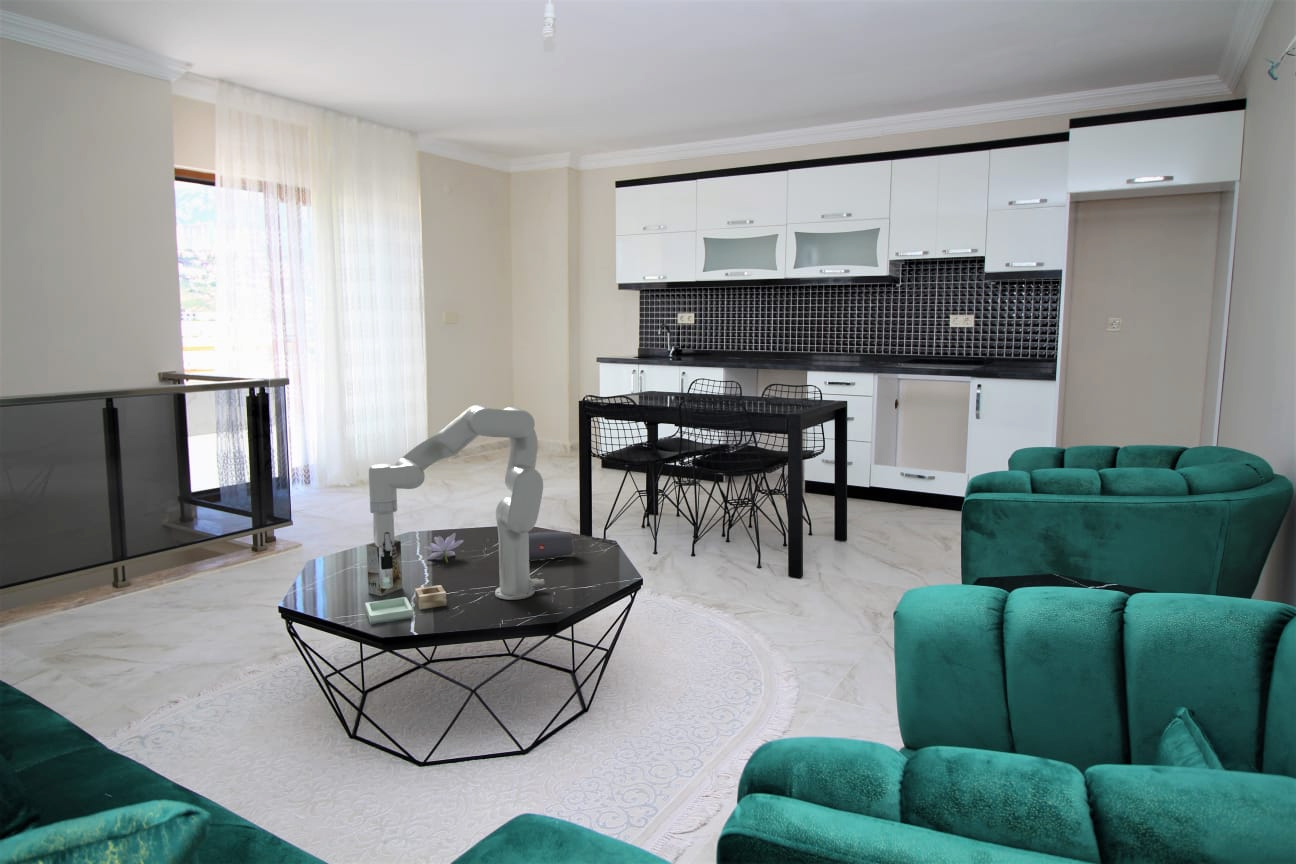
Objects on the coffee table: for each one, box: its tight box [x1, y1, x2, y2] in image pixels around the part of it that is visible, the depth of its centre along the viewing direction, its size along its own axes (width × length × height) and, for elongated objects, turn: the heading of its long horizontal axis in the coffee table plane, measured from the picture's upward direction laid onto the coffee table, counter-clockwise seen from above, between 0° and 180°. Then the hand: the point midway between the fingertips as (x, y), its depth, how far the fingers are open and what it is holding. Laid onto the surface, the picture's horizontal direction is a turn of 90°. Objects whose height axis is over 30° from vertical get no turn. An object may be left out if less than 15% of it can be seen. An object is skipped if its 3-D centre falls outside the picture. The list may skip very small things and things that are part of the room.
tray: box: [364, 596, 414, 625], centre depth 236 cm, size 12×12×2 cm
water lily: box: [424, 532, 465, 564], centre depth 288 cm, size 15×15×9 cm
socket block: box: [414, 584, 447, 610], centre depth 245 cm, size 8×8×4 cm
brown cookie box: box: [366, 539, 403, 597], centre depth 255 cm, size 9×6×16 cm
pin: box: [379, 546, 393, 589], centre depth 234 cm, size 4×4×12 cm
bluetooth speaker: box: [528, 531, 574, 561], centre depth 290 cm, size 23×9×10 cm, turn 104°
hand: (386, 566), depth 234 cm, fingers closed on pin, 3 cm apart
